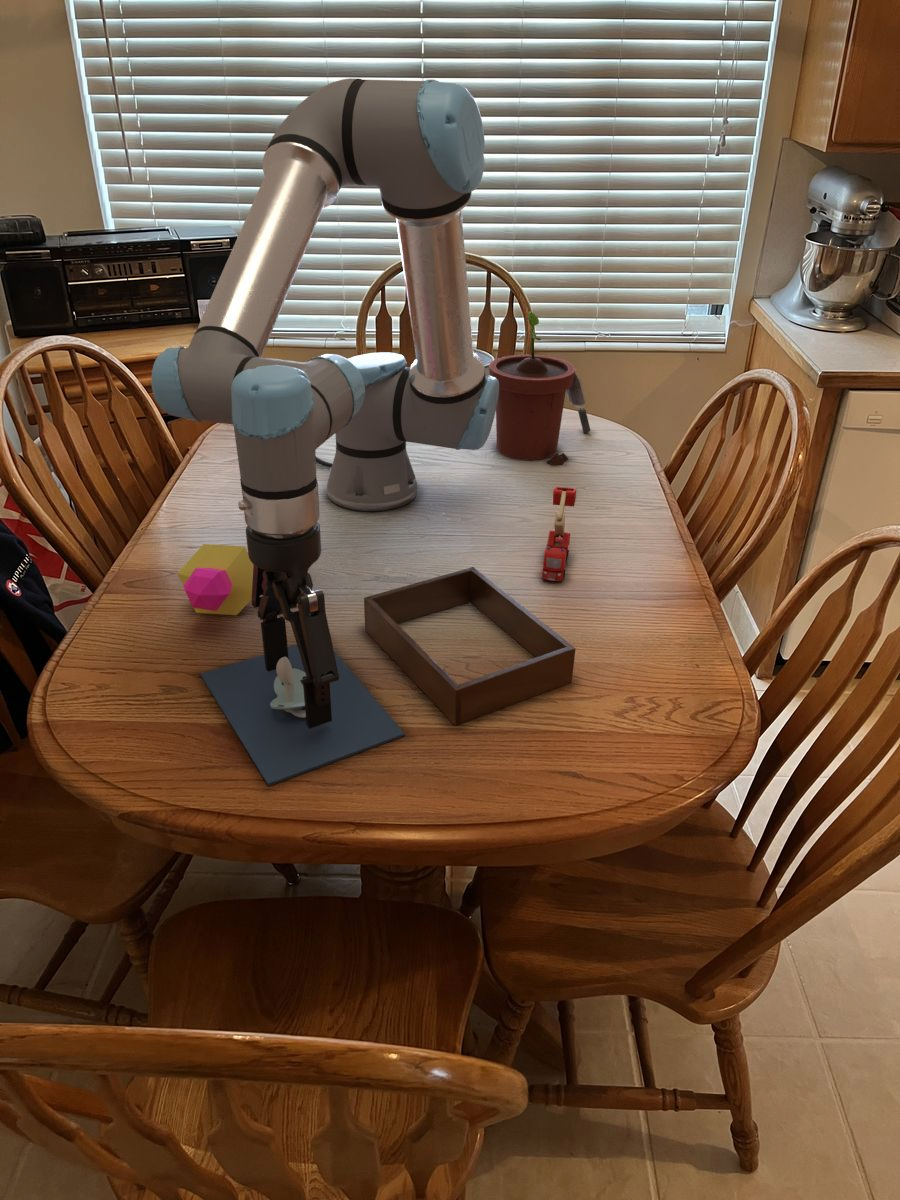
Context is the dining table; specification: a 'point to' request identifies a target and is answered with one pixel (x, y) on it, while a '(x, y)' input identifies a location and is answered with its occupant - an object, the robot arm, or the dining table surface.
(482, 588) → the open box
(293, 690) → the pacifier
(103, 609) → the dining table surface
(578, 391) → the potted plant
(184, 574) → the toy
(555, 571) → the toy fire truck
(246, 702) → the mat
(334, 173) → the robot arm
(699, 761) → the dining table surface
